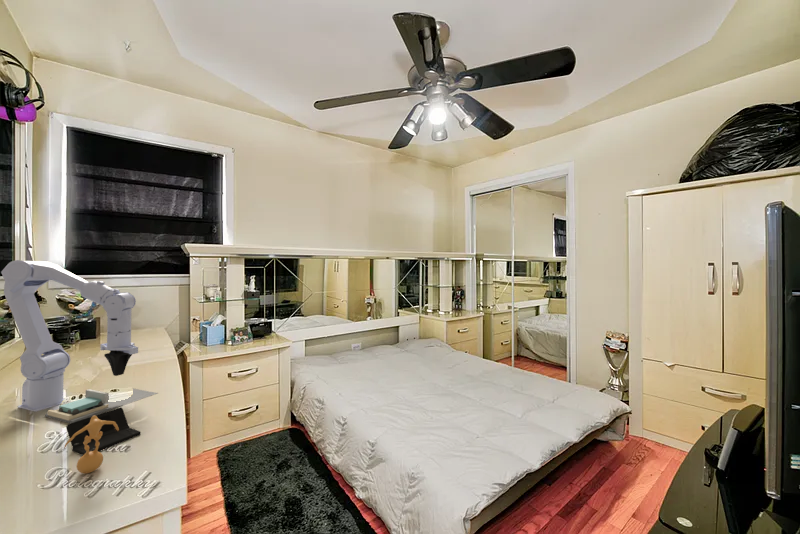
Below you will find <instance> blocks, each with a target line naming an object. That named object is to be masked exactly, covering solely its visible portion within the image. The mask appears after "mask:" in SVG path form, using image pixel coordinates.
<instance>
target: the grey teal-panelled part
mask: <svg viewBox="0 0 800 534" xmlns="http://www.w3.org/2000/svg"><path fill="white" fill-rule="evenodd" d="M84 396H85V397H84V398H81V399H77V400H75V401H72V402H71V401H70V402H66V403H63V404H60V405H58V409H59V411H60V412H64V413H68V414H72V416H73V415H76V414H78V413H79V411H80V410H83V409H86V408H89V407H92V406H95V407H100V406H103V405H104V404H106V403H108V400H109V396H110V395H109V392H107V391H106V392H104V391H100V390H94V389H90V388H88V389H85V395H84Z"/></svg>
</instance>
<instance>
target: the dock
mask: <svg viewBox="0 0 800 534" xmlns="http://www.w3.org/2000/svg"><path fill="white" fill-rule="evenodd" d="M132 389H133V395H132V396H131V397H129V398H128V399H125V400H121V401H116V402H108V403H106V404H104V405H103V406H100V407H95V406H92V407H89V408H86V409H83V410H80V411H79V413H78V414H76V415H73V416H72V414H68V413H64V412H60V411H59V408H58V409H53V408H52V409H49V410H47V413H44V418H49V419H52V420H56V421H60V422H62V423H63V422H64V423H67V424H71V423H74V422H77V421H80V420H83V419H86V418H89V417H92V416H94V415H98V414H102V413H105V412H108V411H111V410H114V409H117V408H121V407H123V406H126V405H128V404H132V403H134V402H137V401H141V400H143V399H146V398H149V397H152V396H154V395H157V394H158V392H154V391H149V390H143V389H138V388H132Z"/></svg>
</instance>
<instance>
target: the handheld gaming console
mask: <svg viewBox="0 0 800 534" xmlns="http://www.w3.org/2000/svg"><path fill="white" fill-rule="evenodd" d="M95 416H97V418H98V419H100V420H105V421H114V422H116V424H117V426H118V427H119V431H117V430H116V429H115V428H116V427H114V425H113V424H104V425H103V426H102V427H101V429H100V431H102V432H103V434H102V436H101V438H100V439H99V440H98V442H99V443H100V445H99V446H98V452H102V451H103V449H104V450H106V448H107V449H108V448H112V447H115V446H116V445H118V444H121V443H124V442H127V441H128V440H131V439H134V438H135V437H140V435H141V431H140V430H136V429H134V428H132V427H130V425H129V423H128V421H127V417H126V415H125V412H124V409H123V408H122V407H118V408H115V409H112V410H109V411H106V412H103V413H100V414H98V415H95ZM90 420H91V417H89V418H86V419H83V420H80V421H77V422H74V423H67V425H66V426H65V428H66V431H67V436H68V438H69V439H70V438H71V437H72V436H73V435H74V434H75V433H76V432H78V431H79V430H81V429H82V428H84V427H85V426H86V425H88V424H89V423H90ZM100 431H99V432H100ZM86 436H90V434H89V432H88V430H85V431H83V432H82V433H80V434H78V435H76V436H75V437H74V438H73V440H72V441H71V442H70V443H71V447H72V449H71V451H72V452H74V453H76V454H79V455H80V456H82V455H84V454H85V453H86V450H85V449H84V448H85V446H84V444H83V442H84V441H85V437H86ZM95 443H96V440H94V439H91V441H90V442H89V443H88V444H87V445H88V446H89V452H91V451H94V450H95V448H96V446H95ZM101 450H102V451H101Z"/></svg>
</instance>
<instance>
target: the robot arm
mask: <svg viewBox="0 0 800 534" xmlns="http://www.w3.org/2000/svg"><path fill="white" fill-rule="evenodd" d="M0 273H1V275H2V279H3V281H4V286H3V295H4V296H5V300H6V302H7V305H8V306H9V309H10V312H11V314H12V318H13V319H14V321H15V324H16V327H17V329H18V331H19V334H20V336H21V340H22V341H23V344H24V346H25V350H24V352H23V353H21V355H20V357H19V359H20V363H21V365H20V373H21V374H22V376H23V377H25V380H24V382H23V384H22V386H21V388H22V390H21V391H22V392H21V404H20V405H17V408H18V409H24V410H28V411H30V412H35V413H36V412H39V411H43V410H47V409H49V408H53V407H56V406H61V405H62V404H61V403H62V401H63V400H64V399H65V398H64V379H65V378H64V375H65V374H64V373H65V372H66V368H67V367H68V366H69V365H70V363H71V355H70V354H69V353H68V352H67V351H66V350H65V349H64V348H63V345H61V344H59V343H58V342H55V341H53V339H52V336H51V334H50V331H49V328H48V326H47V324H46V321H45V318H44V316H43V314H42V311H41V309H40V306H39V304H38V301H37V298H36V296H35V293H36V292H37V290H38V289H39V288H40V287H42V286H43V285H46V283H48V282H49V281H54V282H57V283H59V284H62V285H64V286H66V287H68V288H71V289H74V290H76V291H79V293H80V296H81V298H84V299H86V300H89V301H91V302H94V303H96V304H98V305H100V306H102V308H103V309H104V311H105V313H106V318H107V323H106V326H107V329H106V331H107V332H106V342H105V343H100V347H99V348H100V351H110V352H108V353H107V352H106V353H105V354H104V357H105V359H106V360H107V361H108V364H109V365H110V369H111V373H112V376H114V377H117V376H118V377H119V376H122V375H124V374H125V371H126V367H127V365H128V362H129V360H130V358H131V357H132V356H133V355H135V354H138V353H139V346H135V342H132V311H133V310H132V309H133V308H134V307H135V306H136V302H137V300H136V297H135V296H134V295H133V294H131V293H130V292H128V291H126V292H120V289H118V288H112V286H111V287H110V286H108V285H107V284H106V282H104V281H102V280H92V281H88V280H85V279H84V278H82V277H80V276H79V275H76V274H74V273H72V272H71V271H69V270H67V269H65V268H63V267H61V265H59V264H57V263H53V262H51V261H48V260H20V259H15V260H12V261H10V262H8V263H7V265H6V266H5V267H4V268H3V269H2V270H1V271H0Z"/></svg>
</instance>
